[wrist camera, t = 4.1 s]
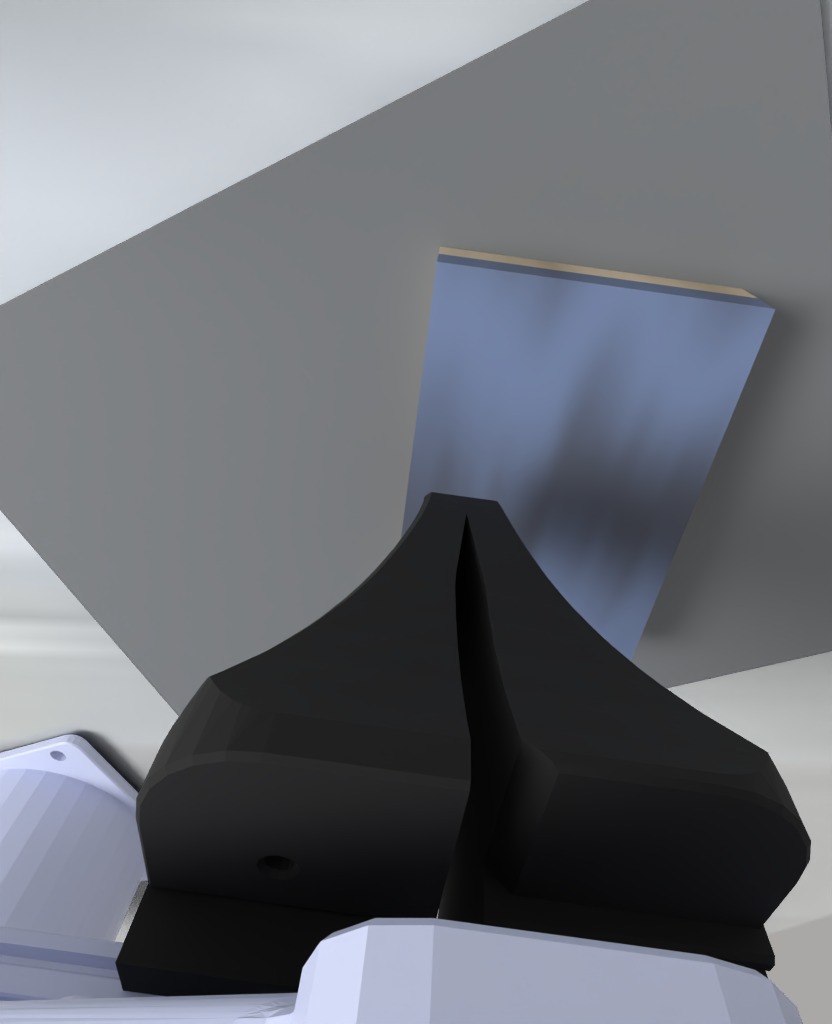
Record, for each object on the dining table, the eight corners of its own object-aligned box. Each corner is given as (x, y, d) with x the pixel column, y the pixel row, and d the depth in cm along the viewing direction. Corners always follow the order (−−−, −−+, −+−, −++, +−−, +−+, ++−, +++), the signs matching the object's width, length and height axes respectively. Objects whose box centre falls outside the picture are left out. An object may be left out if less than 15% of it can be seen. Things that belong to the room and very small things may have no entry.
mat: (241, 774, 22) (237, 784, 22) (-109, 362, 15) (-122, 369, 15) (868, 630, 17) (876, 640, 17) (798, -107, 10) (809, -115, 10)
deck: (394, 599, 17) (613, 629, 17) (387, 640, 16) (625, 672, 16) (440, 246, 12) (742, 288, 12) (436, 261, 11) (775, 309, 11)
